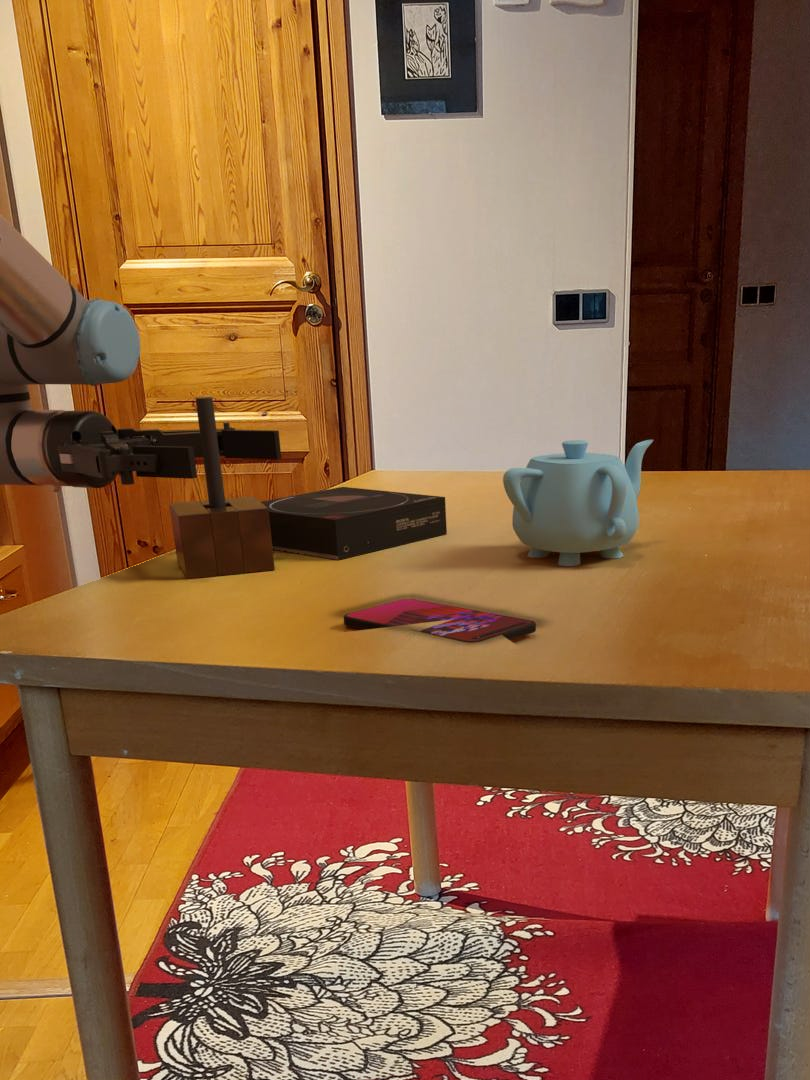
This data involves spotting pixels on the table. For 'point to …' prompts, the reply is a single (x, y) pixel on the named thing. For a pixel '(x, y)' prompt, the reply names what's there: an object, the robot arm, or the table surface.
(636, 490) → the teapot
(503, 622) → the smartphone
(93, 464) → the robot arm
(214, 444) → the stylus
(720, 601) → the table surface
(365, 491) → the portable cd player
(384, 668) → the table surface
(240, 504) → the pen stand
